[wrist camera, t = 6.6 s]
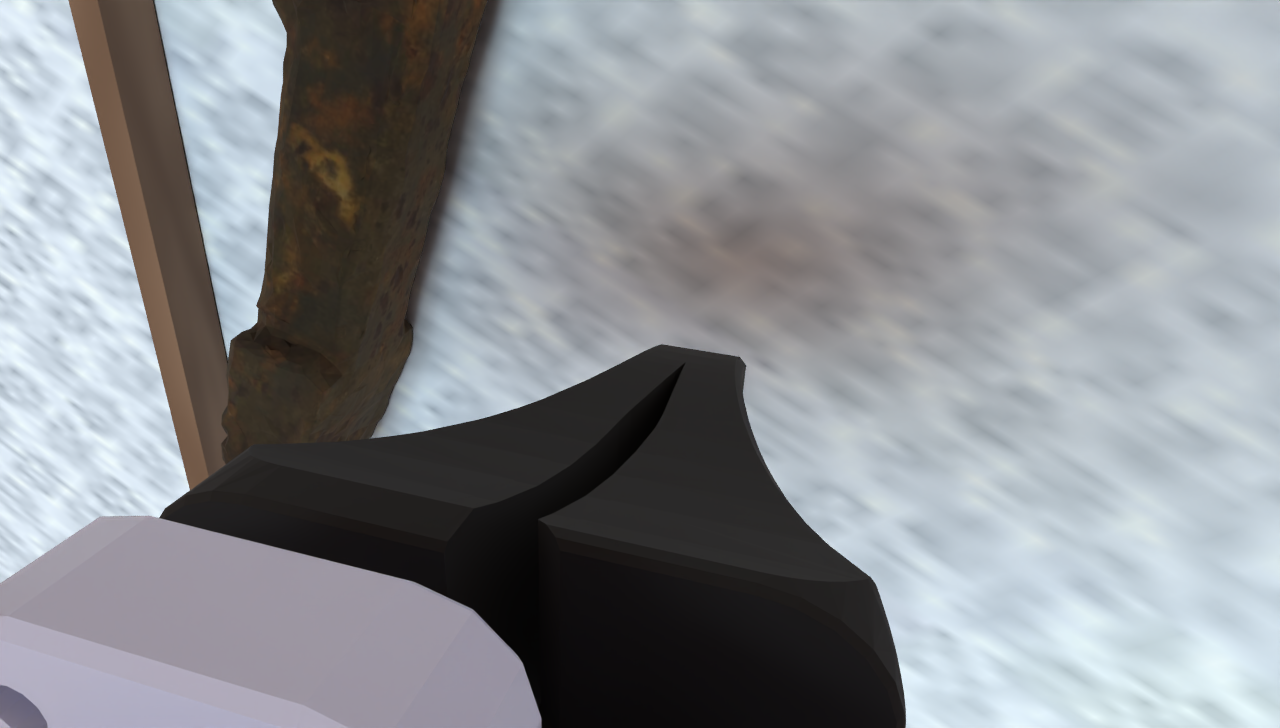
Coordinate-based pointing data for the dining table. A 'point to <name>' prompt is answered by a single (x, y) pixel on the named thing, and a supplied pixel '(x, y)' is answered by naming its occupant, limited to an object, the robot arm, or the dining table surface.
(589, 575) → the robot arm
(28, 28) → the dining table surface
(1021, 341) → the dining table surface
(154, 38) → the tool bay
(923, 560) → the dining table surface
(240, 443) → the hand tool
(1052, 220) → the dining table surface
